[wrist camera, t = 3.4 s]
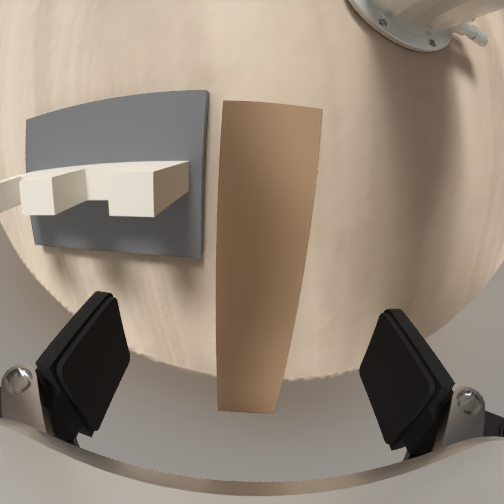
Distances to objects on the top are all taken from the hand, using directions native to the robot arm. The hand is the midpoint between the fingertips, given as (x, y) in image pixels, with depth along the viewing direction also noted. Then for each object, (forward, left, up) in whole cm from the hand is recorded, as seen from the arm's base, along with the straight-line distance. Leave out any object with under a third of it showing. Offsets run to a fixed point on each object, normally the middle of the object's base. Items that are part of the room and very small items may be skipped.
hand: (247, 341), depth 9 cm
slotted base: (+14, -4, -15) cm, 21 cm away
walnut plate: (0, -1, -15) cm, 15 cm away
